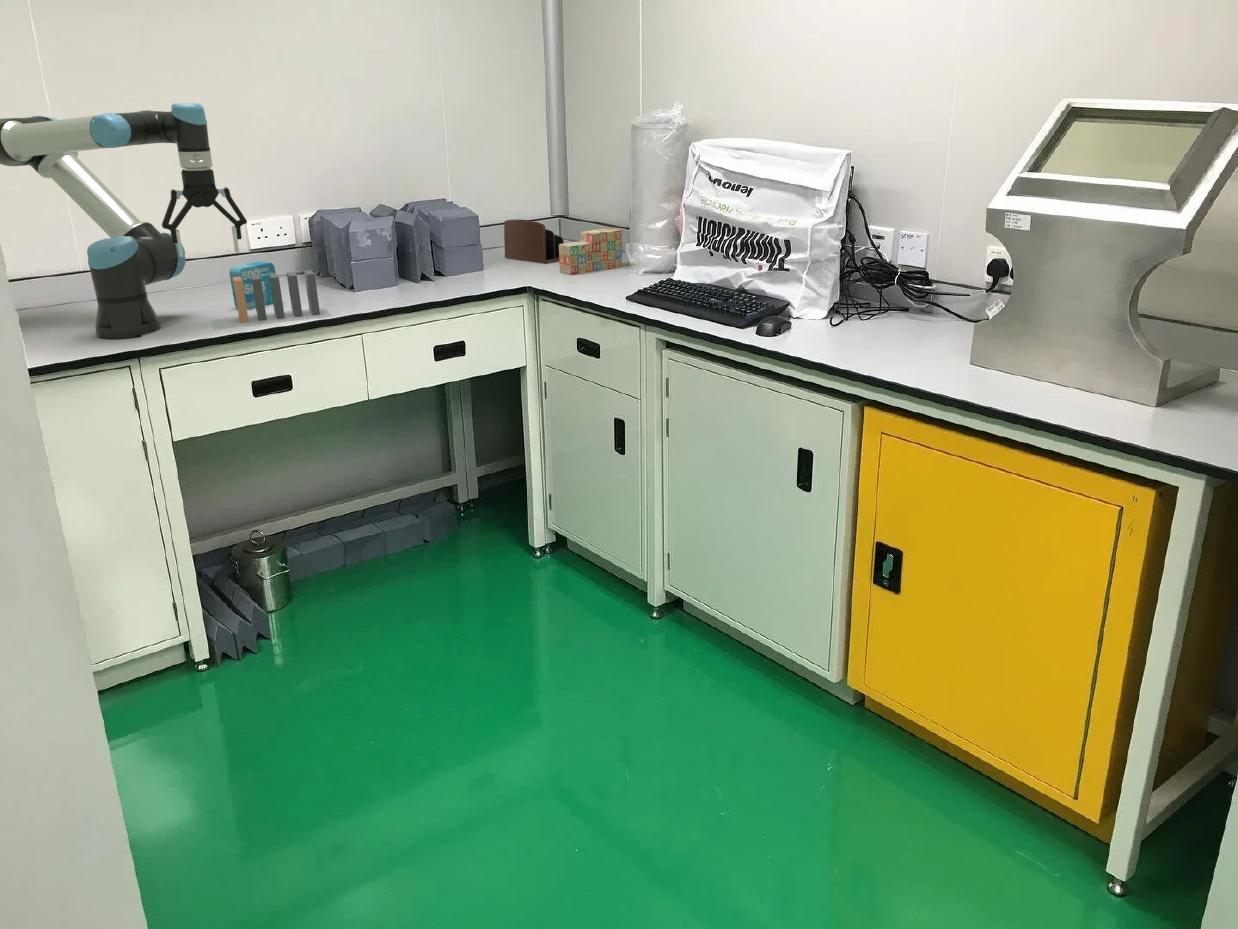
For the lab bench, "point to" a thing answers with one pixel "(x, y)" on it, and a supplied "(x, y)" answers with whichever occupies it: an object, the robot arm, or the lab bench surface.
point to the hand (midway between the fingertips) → (209, 254)
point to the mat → (270, 319)
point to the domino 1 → (240, 299)
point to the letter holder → (530, 242)
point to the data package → (245, 273)
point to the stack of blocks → (592, 252)
